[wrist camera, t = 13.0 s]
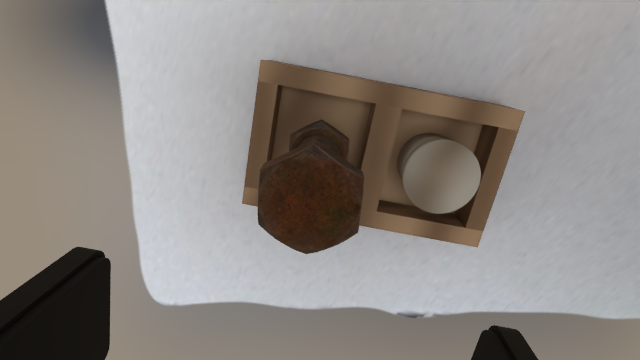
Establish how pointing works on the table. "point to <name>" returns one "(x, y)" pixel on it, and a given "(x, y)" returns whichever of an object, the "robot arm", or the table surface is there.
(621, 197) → the table surface
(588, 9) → the table surface
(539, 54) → the table surface
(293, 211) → the bolt
